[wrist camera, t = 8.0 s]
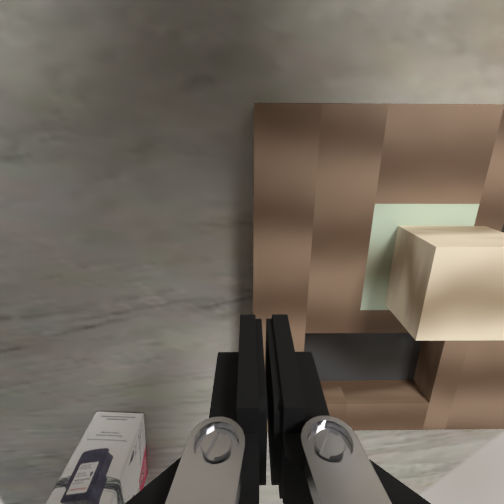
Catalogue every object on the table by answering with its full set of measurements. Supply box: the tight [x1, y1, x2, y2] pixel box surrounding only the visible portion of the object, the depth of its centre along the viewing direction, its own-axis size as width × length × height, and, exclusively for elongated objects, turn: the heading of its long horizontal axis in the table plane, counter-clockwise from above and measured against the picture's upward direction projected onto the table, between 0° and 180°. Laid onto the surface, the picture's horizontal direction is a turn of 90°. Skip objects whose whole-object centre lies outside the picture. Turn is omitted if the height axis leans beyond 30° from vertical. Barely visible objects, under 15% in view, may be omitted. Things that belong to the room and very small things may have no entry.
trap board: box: [252, 103, 504, 431], centre depth 24 cm, size 26×24×3 cm
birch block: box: [385, 226, 504, 341], centre depth 20 cm, size 6×6×4 cm
